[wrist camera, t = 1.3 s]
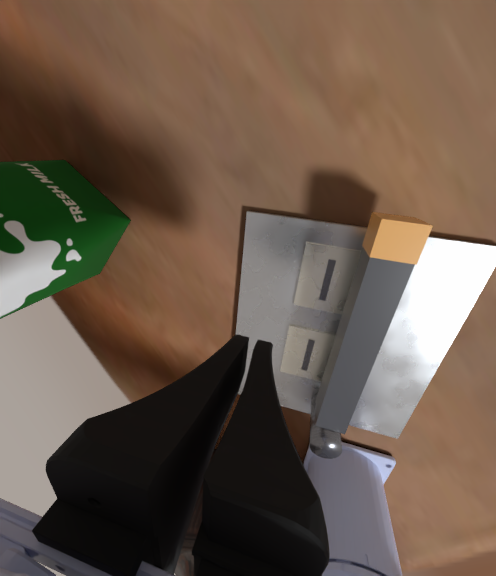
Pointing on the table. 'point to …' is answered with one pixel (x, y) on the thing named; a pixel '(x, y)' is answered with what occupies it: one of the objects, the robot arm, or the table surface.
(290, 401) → the tray base
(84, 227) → the milk carton
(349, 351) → the swing arm
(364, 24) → the table surface
